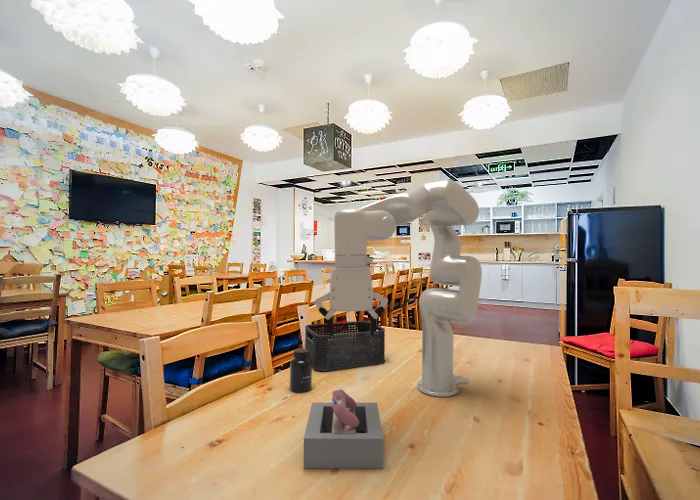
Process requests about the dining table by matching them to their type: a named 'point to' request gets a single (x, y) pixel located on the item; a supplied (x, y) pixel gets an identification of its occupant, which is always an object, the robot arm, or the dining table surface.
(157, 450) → the dining table surface
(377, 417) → the grey square box
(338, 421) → the beige insert in tray
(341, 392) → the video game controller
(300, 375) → the supplement bottle
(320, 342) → the storage bin
